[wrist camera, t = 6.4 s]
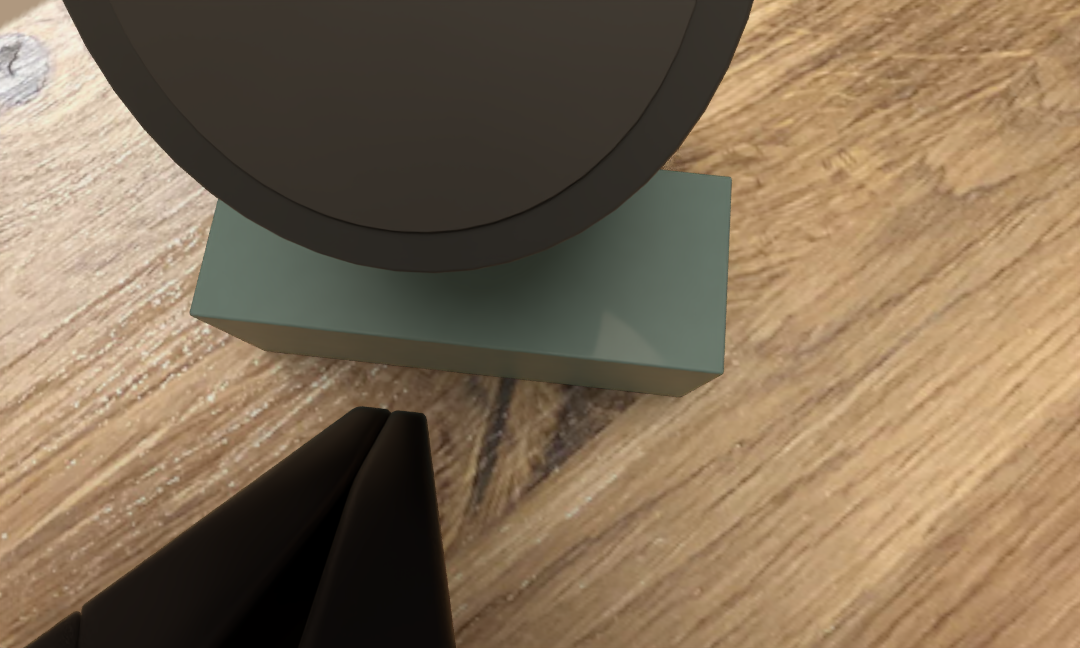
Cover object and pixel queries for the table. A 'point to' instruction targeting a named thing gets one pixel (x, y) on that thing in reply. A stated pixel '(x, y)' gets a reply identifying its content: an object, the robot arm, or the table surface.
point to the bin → (417, 112)
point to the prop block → (501, 299)
